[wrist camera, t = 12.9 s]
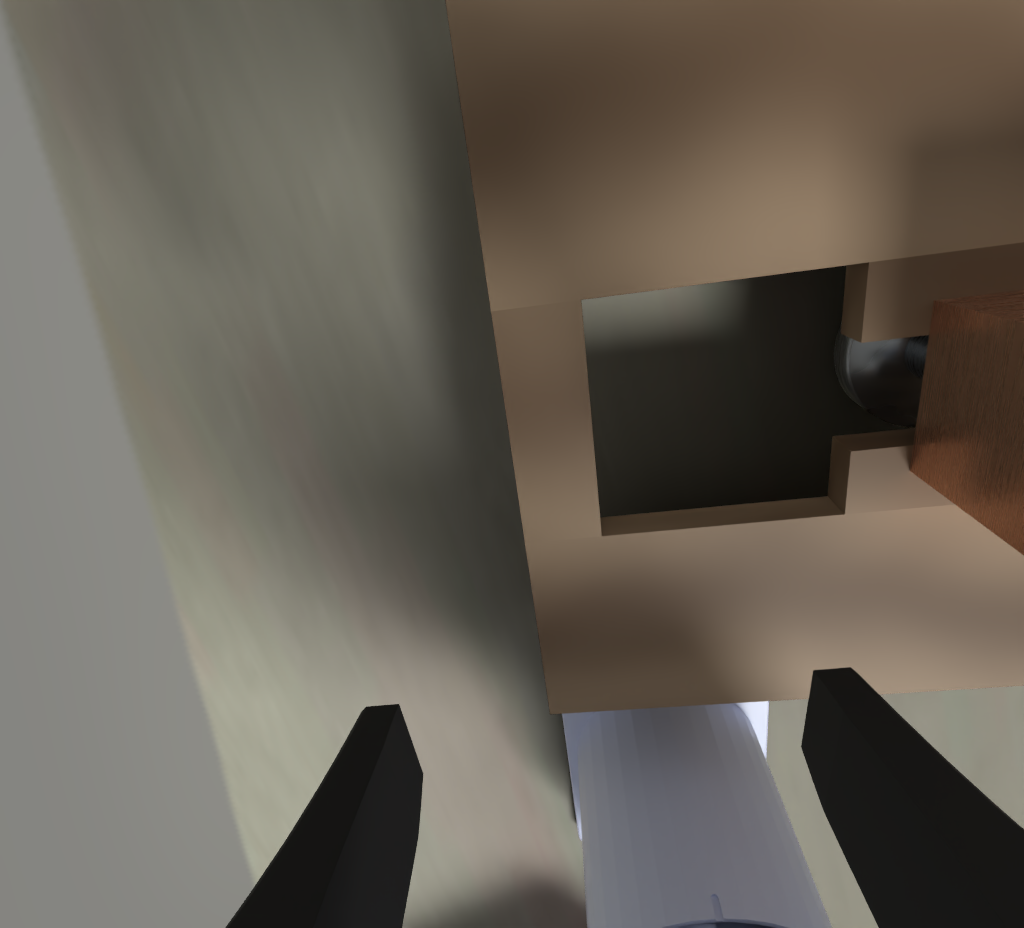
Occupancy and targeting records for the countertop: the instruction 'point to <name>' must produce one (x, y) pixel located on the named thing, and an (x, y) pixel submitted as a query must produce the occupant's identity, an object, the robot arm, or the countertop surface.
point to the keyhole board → (730, 256)
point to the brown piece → (955, 402)
